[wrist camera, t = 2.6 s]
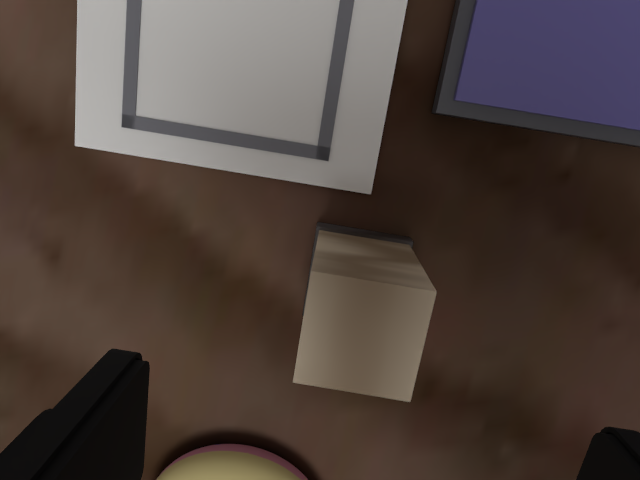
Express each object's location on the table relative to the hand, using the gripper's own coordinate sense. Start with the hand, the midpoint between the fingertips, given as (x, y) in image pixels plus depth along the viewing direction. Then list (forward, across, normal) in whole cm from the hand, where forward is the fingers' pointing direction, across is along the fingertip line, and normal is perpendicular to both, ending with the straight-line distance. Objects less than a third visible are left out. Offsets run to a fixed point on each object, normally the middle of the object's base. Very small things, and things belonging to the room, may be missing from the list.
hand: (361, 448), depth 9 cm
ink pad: (+13, -8, -11) cm, 19 cm away
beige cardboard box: (+13, -1, +1) cm, 13 cm away
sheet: (+13, +6, -9) cm, 17 cm away
